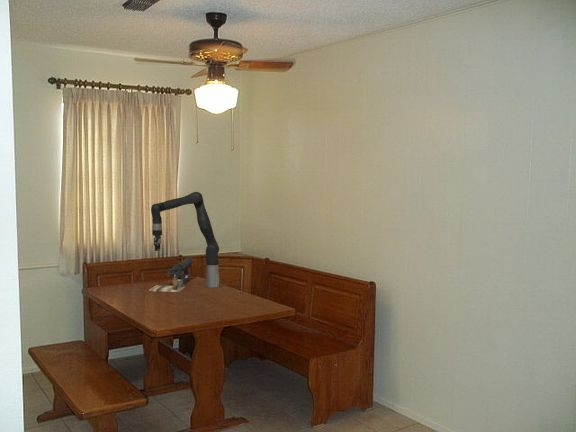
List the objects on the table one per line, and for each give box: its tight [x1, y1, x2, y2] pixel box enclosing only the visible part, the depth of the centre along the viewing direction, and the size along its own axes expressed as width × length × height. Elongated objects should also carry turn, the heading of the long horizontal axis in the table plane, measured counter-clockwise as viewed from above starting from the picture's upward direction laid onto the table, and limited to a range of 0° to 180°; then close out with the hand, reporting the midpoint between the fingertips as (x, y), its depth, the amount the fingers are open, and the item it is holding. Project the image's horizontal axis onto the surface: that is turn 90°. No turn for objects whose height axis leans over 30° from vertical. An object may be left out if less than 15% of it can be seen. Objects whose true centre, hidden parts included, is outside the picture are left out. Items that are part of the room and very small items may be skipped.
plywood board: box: [149, 285, 186, 293], centre depth 408 cm, size 23×15×1 cm, turn 86°
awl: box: [171, 275, 178, 290], centre depth 402 cm, size 4×4×11 cm
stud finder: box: [177, 278, 184, 288], centre depth 410 cm, size 4×6×6 cm, turn 176°
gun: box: [166, 257, 194, 285], centre depth 426 cm, size 7×28×20 cm, turn 154°
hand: (157, 250), depth 420 cm, fingers open, 8 cm apart
